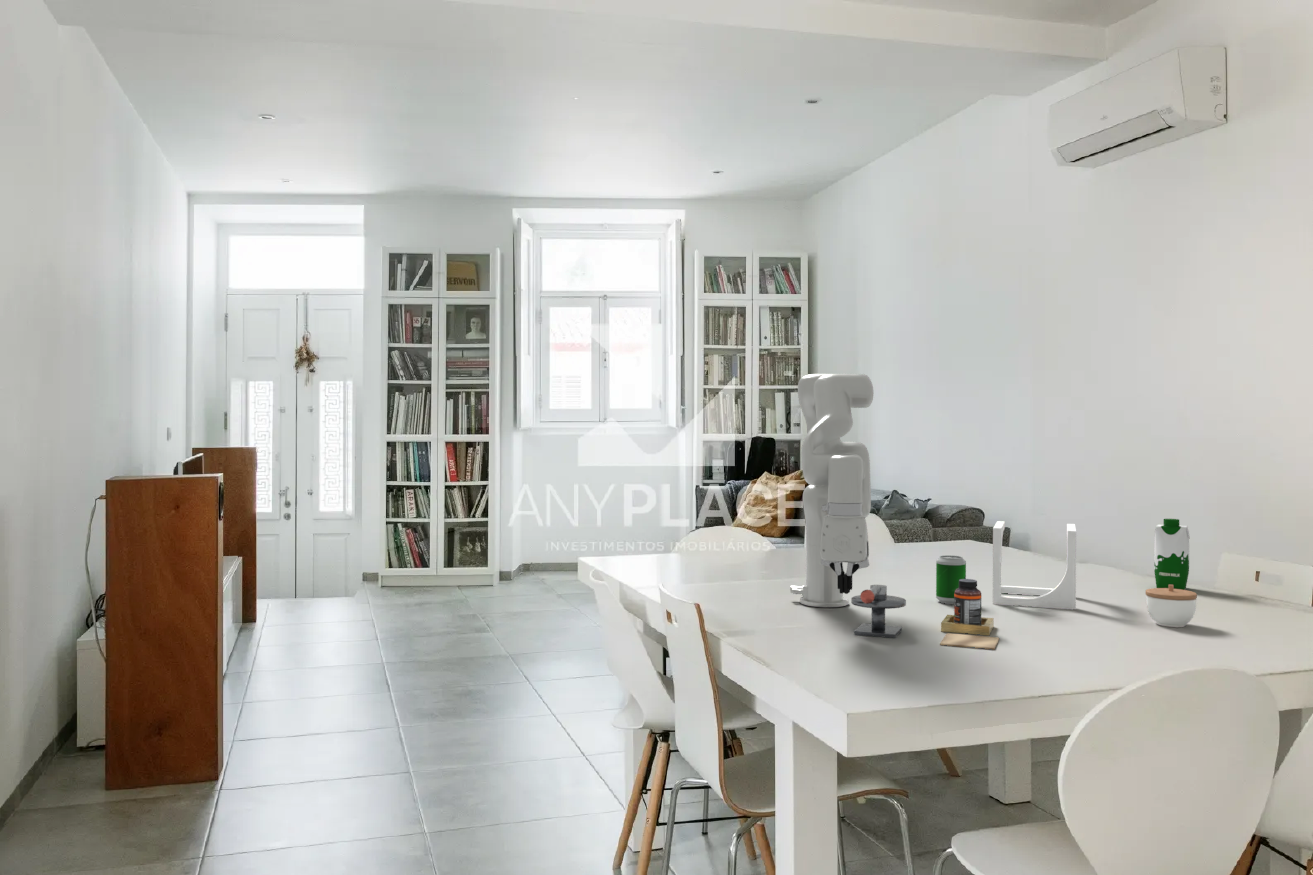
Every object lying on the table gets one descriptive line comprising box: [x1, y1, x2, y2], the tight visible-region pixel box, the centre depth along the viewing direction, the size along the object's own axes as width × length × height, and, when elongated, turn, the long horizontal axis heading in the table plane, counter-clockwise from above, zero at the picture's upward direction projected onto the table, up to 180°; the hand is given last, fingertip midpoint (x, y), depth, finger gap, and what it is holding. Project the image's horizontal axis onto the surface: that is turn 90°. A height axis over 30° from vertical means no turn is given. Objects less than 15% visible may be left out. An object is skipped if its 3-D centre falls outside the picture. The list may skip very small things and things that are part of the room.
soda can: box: [935, 555, 967, 605], centre depth 260 cm, size 8×8×12 cm
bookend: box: [992, 520, 1077, 610], centre depth 263 cm, size 20×20×20 cm
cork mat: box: [939, 632, 1000, 651], centre depth 212 cm, size 11×11×1 cm
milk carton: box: [1153, 518, 1190, 590], centre depth 282 cm, size 9×9×20 cm
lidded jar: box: [1145, 585, 1198, 628], centre depth 231 cm, size 11×11×9 cm
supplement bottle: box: [953, 578, 982, 625], centre depth 225 cm, size 6×6×11 cm
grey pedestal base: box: [853, 608, 903, 639], centre depth 222 cm, size 9×9×6 cm
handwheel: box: [850, 584, 907, 610], centre depth 218 cm, size 20×12×5 cm, turn 156°
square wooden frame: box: [940, 614, 995, 636], centre depth 226 cm, size 10×10×2 cm
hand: (844, 592), depth 220 cm, fingers closed
